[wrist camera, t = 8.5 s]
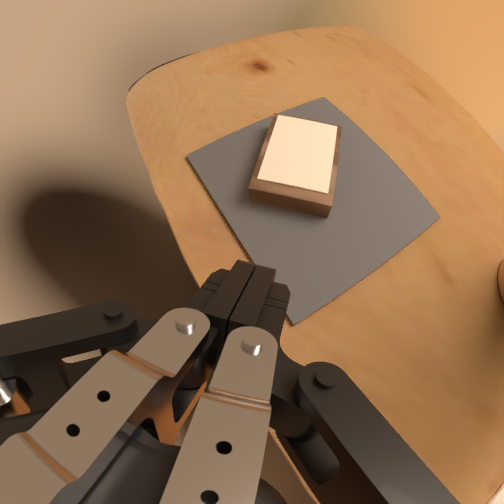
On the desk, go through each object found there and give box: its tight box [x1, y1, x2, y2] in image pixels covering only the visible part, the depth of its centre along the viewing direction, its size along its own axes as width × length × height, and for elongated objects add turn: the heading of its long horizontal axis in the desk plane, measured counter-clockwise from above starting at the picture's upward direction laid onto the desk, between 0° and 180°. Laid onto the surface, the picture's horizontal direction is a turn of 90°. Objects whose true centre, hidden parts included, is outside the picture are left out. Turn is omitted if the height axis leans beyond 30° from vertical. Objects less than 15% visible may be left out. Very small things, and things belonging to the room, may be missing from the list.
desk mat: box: [186, 97, 440, 325], centre depth 36 cm, size 26×28×1 cm
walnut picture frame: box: [248, 113, 342, 218], centre depth 35 cm, size 3×10×14 cm
